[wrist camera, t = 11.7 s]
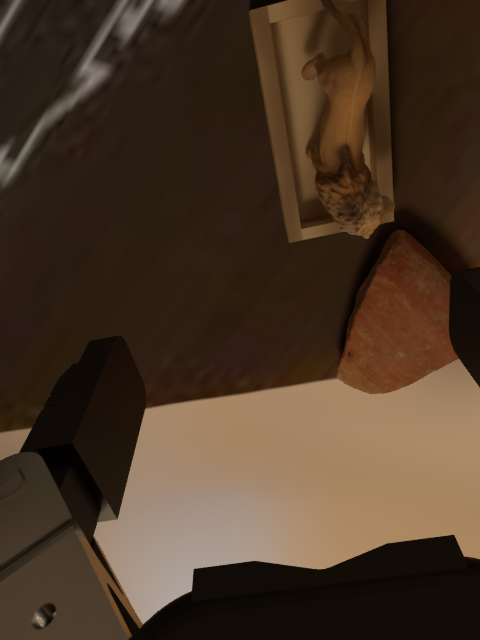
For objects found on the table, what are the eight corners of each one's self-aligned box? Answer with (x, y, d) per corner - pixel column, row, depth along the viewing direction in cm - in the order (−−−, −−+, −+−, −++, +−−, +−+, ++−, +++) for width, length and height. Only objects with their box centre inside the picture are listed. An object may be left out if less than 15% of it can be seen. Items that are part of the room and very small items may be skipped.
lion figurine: (369, 181, 39) (406, 237, 32) (309, 197, 39) (333, 255, 33) (357, -25, 29) (406, -5, 22) (277, 1, 29) (302, 29, 23)
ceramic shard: (289, 346, 42) (413, 228, 38) (282, 322, 48) (389, 218, 44) (391, 436, 45) (513, 336, 42) (372, 403, 52) (478, 313, 48)
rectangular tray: (286, 231, 41) (289, 242, 39) (248, 13, 32) (249, 10, 30) (384, 210, 40) (394, 221, 38) (373, -20, 31) (384, -26, 29)
